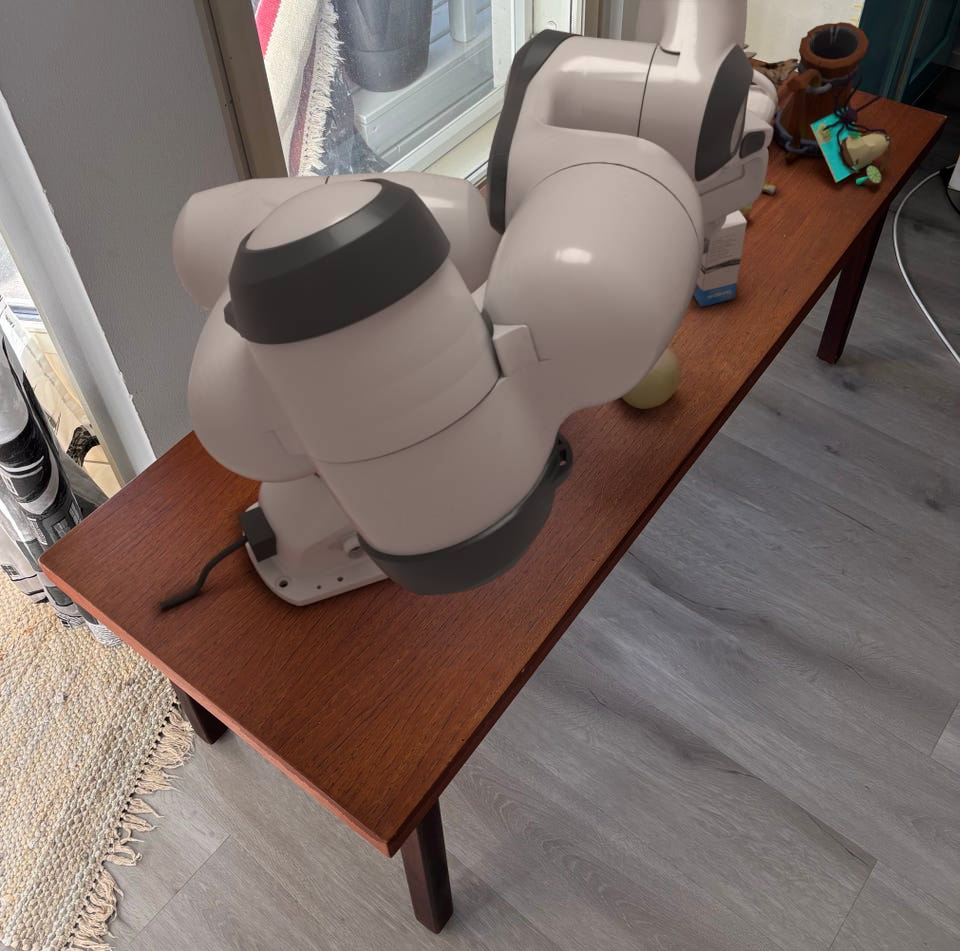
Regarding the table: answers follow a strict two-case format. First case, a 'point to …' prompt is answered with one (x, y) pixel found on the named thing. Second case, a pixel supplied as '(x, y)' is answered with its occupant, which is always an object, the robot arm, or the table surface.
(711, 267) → the ink box
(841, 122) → the diorama
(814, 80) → the mug
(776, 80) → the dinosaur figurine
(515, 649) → the table surface
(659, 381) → the fruit
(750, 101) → the cat figurine
